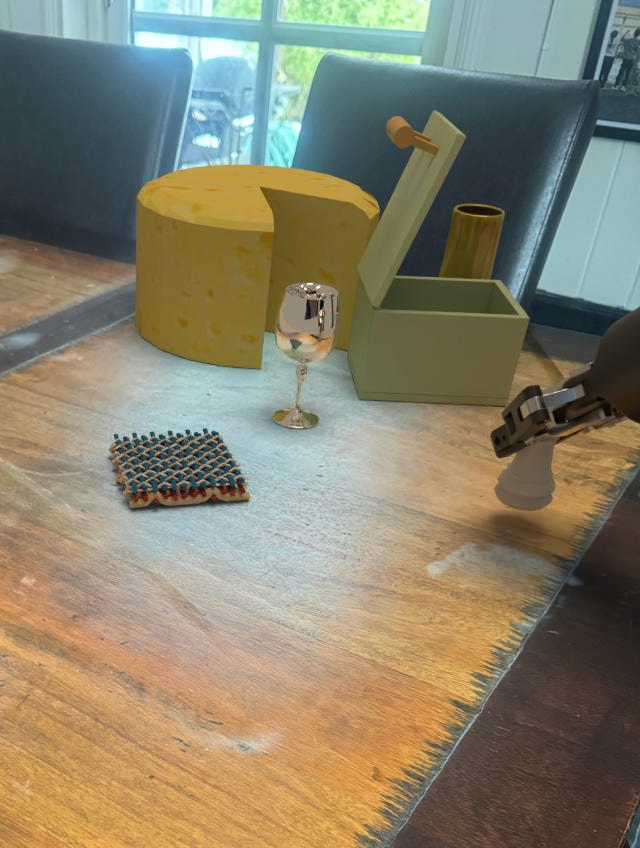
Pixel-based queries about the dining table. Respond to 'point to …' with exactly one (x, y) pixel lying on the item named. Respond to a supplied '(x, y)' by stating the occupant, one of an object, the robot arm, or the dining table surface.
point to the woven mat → (177, 469)
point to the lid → (408, 198)
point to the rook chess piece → (529, 477)
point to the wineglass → (305, 339)
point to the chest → (437, 341)
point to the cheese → (242, 254)
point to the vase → (472, 242)
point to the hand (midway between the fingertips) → (517, 441)
